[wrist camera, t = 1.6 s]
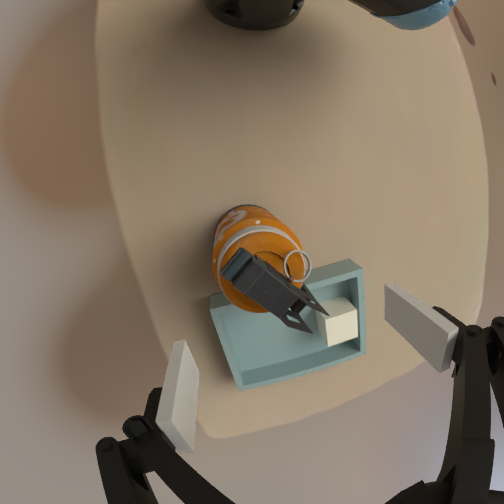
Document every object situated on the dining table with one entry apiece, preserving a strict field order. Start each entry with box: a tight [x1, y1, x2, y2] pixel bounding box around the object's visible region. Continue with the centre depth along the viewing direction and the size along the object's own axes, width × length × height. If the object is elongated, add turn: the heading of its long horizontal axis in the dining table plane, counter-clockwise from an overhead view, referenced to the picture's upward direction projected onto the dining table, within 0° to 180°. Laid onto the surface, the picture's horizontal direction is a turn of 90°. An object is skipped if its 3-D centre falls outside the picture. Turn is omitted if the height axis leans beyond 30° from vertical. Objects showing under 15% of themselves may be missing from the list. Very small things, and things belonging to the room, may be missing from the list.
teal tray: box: [209, 259, 366, 391], centre depth 41 cm, size 16×22×4 cm
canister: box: [212, 205, 330, 334], centre depth 29 cm, size 9×11×20 cm
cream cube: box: [315, 296, 358, 347], centre depth 40 cm, size 5×5×5 cm
